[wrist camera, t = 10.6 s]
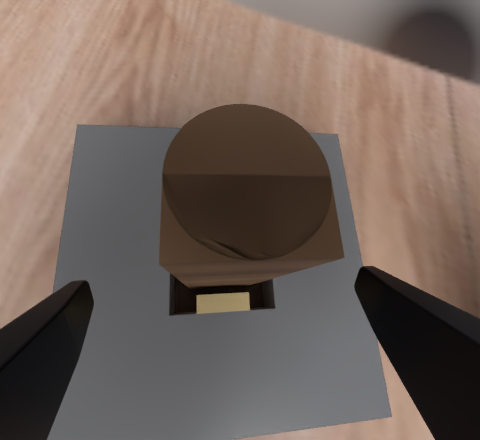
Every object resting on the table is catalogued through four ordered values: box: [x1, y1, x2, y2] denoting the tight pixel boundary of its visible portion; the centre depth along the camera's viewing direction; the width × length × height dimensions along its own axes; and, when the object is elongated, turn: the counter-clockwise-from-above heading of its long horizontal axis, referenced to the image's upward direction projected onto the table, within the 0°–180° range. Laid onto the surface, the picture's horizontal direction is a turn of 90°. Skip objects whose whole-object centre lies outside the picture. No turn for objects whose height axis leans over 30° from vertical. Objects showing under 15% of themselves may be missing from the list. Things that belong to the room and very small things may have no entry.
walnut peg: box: [159, 104, 345, 289], centre depth 12 cm, size 4×4×13 cm
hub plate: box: [47, 125, 392, 440], centre depth 17 cm, size 18×18×3 cm
